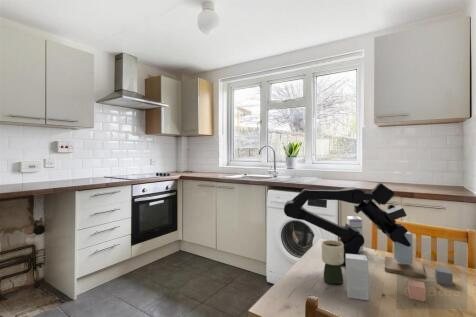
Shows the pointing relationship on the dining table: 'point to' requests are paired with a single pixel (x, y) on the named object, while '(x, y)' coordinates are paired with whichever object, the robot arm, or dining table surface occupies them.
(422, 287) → the terracotta block
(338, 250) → the character mug
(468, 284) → the dining table surface
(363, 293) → the skincare box
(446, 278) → the charcoal block
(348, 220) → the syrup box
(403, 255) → the slate block
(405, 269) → the walnut board
